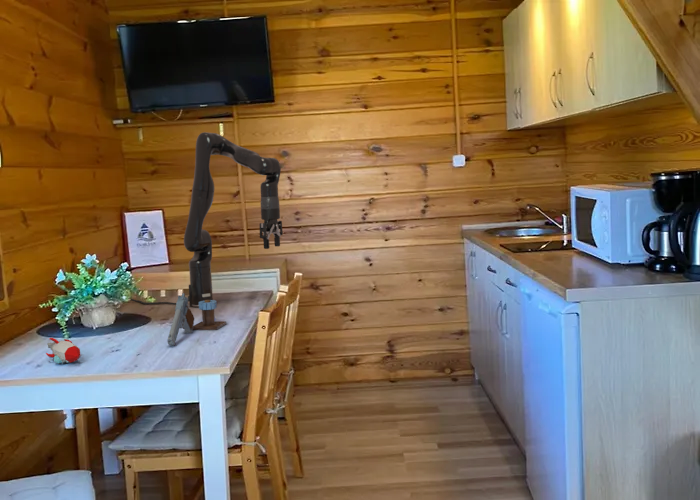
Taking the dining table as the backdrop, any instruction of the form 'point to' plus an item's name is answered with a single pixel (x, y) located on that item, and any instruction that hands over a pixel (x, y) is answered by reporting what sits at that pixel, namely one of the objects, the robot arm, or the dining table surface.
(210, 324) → the stand
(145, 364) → the dining table surface
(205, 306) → the ring
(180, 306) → the handgun
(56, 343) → the toy
